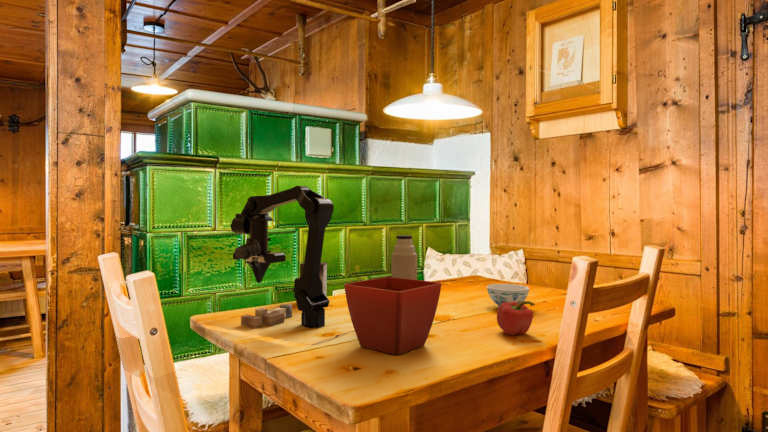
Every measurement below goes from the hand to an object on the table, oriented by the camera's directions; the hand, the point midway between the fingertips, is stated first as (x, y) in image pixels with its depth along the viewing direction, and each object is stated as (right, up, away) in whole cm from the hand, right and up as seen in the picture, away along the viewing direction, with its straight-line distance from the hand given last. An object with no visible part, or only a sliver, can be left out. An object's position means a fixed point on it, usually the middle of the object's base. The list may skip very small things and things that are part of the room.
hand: (258, 282), depth 157 cm
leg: (+6, -11, -5) cm, 14 cm away
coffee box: (+15, -12, +22) cm, 29 cm away
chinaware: (+86, -12, +20) cm, 89 cm away
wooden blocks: (+4, -12, -10) cm, 17 cm away
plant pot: (+43, -13, -29) cm, 53 cm away
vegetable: (+79, -13, -16) cm, 82 cm away
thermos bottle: (+47, -13, -5) cm, 49 cm away
